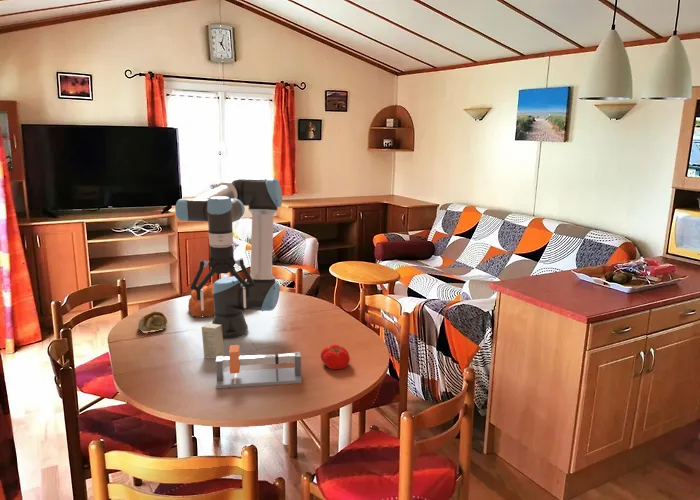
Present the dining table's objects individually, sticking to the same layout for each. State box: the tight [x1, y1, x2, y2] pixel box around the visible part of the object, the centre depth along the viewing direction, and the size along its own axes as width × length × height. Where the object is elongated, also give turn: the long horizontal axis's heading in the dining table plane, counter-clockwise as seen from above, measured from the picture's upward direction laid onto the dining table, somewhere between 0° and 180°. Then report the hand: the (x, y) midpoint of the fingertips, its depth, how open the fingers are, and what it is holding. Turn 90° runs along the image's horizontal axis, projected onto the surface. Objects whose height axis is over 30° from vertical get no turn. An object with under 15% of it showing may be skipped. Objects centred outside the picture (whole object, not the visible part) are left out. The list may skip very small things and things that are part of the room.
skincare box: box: [201, 322, 225, 360], centre depth 201 cm, size 6×4×12 cm
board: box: [215, 367, 302, 389], centre depth 184 cm, size 28×10×1 cm, turn 99°
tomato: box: [320, 344, 351, 370], centre depth 195 cm, size 10×11×7 cm
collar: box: [228, 344, 241, 374], centre depth 181 cm, size 3×6×8 cm, turn 9°
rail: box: [215, 351, 302, 382], centre depth 183 cm, size 28×4×7 cm, turn 99°
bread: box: [188, 283, 246, 318], centre depth 253 cm, size 16×31×13 cm, turn 119°
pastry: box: [137, 311, 168, 331], centre depth 229 cm, size 14×12×8 cm
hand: (223, 308), depth 179 cm, fingers open, 13 cm apart
